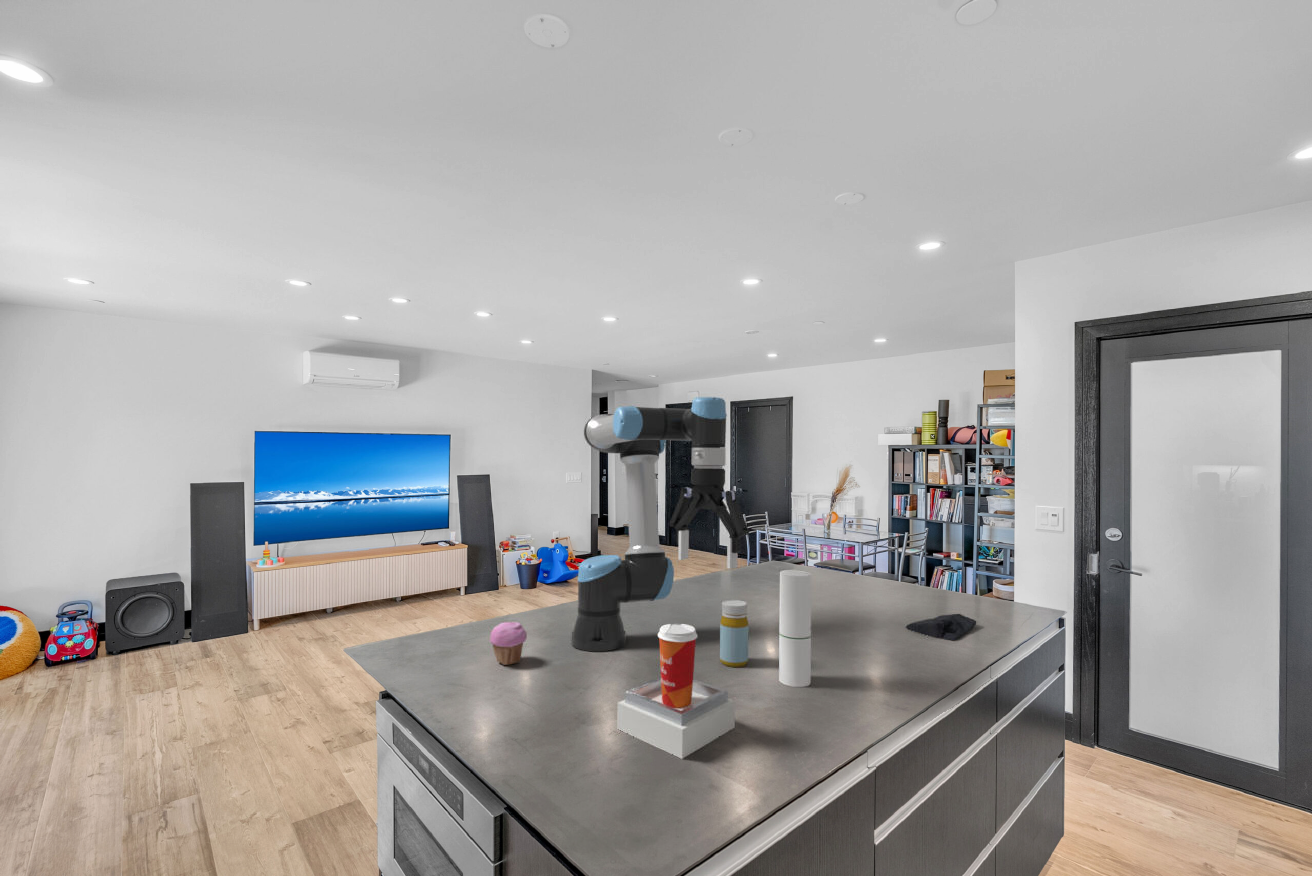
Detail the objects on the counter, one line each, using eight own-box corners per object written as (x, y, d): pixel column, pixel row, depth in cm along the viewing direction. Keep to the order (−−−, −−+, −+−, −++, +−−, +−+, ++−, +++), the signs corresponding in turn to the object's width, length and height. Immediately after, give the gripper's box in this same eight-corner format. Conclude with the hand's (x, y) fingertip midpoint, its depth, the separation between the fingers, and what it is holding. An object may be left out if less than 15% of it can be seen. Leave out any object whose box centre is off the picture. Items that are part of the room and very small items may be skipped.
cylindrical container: (811, 677, 140) (812, 571, 140) (809, 688, 133) (809, 577, 134) (781, 673, 142) (781, 568, 143) (777, 684, 135) (777, 574, 136)
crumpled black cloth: (986, 630, 181) (986, 614, 181) (952, 644, 167) (952, 627, 167) (936, 618, 193) (936, 603, 193) (901, 630, 179) (901, 614, 179)
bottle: (747, 668, 145) (747, 607, 145) (718, 666, 146) (719, 605, 147) (748, 659, 152) (749, 600, 152) (721, 656, 153) (721, 598, 153)
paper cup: (655, 693, 117) (656, 622, 117) (693, 693, 118) (694, 622, 118) (658, 711, 109) (659, 635, 110) (699, 710, 110) (700, 634, 110)
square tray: (617, 728, 113) (617, 691, 113) (671, 702, 125) (671, 669, 125) (682, 758, 102) (682, 717, 102) (734, 727, 114) (735, 690, 114)
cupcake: (532, 662, 148) (533, 622, 148) (502, 671, 141) (503, 629, 141) (512, 654, 154) (513, 615, 154) (482, 662, 147) (483, 622, 147)
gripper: (655, 465, 137) (654, 557, 137) (745, 469, 120) (744, 574, 120) (676, 465, 142) (675, 553, 142) (765, 468, 125) (764, 569, 125)
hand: (707, 563), depth 131 cm, fingers open, 13 cm apart
